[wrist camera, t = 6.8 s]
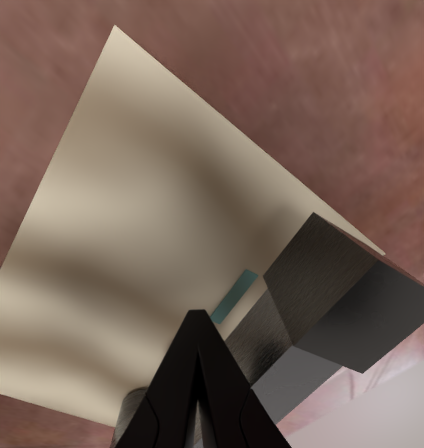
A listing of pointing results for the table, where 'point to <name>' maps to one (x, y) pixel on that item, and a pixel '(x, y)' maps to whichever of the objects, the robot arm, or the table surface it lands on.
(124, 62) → the board
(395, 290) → the lever
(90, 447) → the table surface
